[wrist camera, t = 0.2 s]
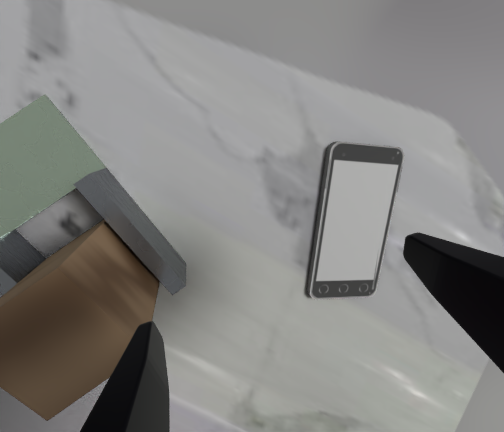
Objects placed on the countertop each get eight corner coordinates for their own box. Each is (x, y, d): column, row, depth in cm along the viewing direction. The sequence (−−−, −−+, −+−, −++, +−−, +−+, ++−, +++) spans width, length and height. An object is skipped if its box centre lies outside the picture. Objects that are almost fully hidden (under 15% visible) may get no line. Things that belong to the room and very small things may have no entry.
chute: (186, 263, 25) (185, 285, 21) (95, 326, 25) (79, 359, 21) (45, 94, 20) (12, 84, 16) (-71, 171, 20) (-133, 179, 16)
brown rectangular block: (162, 268, 24) (145, 351, 15) (102, 310, 24) (47, 420, 15) (113, 213, 22) (57, 267, 13) (47, 257, 22) (-57, 346, 13)
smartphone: (308, 299, 28) (332, 140, 24) (304, 294, 29) (326, 140, 25) (375, 297, 30) (406, 147, 26) (369, 292, 31) (398, 147, 27)
